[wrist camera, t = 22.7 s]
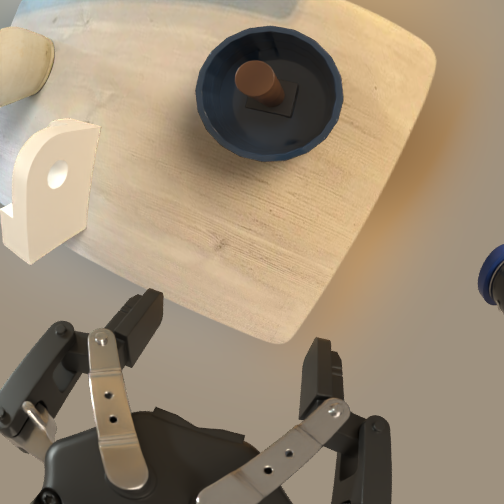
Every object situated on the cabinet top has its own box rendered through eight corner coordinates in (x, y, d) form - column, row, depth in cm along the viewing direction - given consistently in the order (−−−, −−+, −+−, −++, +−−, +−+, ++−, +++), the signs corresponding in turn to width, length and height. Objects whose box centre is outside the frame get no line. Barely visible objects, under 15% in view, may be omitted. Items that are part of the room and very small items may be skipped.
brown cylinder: (298, 87, 28) (295, 59, 15) (291, 118, 30) (283, 111, 17) (257, 78, 28) (226, 48, 16) (250, 108, 30) (214, 98, 18)
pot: (345, 60, 26) (355, 45, 19) (318, 168, 32) (322, 178, 26) (229, 37, 27) (212, 20, 20) (206, 141, 33) (184, 146, 27)
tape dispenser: (86, 228, 42) (30, 265, 30) (46, 206, 42) (-8, 235, 30) (101, 126, 34) (30, 139, 22) (56, 114, 34) (-8, 126, 21)
